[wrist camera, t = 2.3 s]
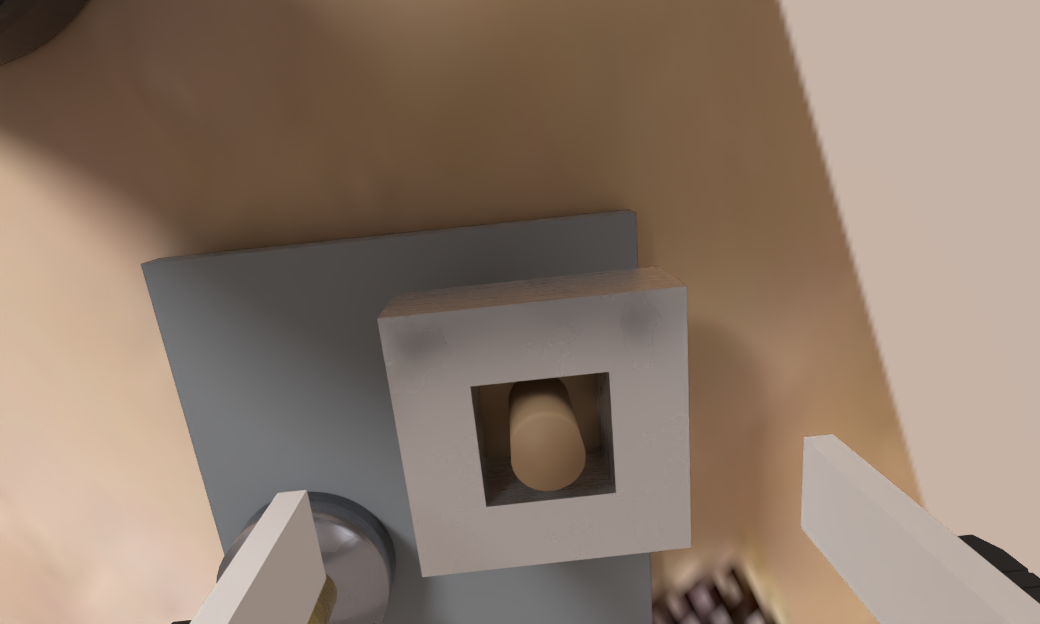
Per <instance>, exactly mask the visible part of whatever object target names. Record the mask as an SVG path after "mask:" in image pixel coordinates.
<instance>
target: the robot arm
mask: <svg viewBox="0 0 1040 624" xmlns="http://www.w3.org/2000/svg"><path fill="white" fill-rule="evenodd" d="M86 1H87V0H0V64H2V63H5V62H9V61H11V60H14V59H16V58H18V57H21V56H23V55H25V54H27V53H29V52H31V51H32V50H34V49H36V48H38V47H39V46H41V45H42V44H44V43H45V42H47V41H48V40H50V39H51V38H52V37H53V36H54V35H56V34H57V33H58V32H59V31H61V30H62V29H63V28H64V27H65V26H66V25H67V24H68V23H69V22H70V21H71V20H72V19H73V17H74V16H75V15H76V14H77V13H78V11H79V10H80V9H81V8H82V6H83V5H84V4H85V2H86ZM801 528H802V530H803V531H804V532H805V533H806V535H807V536H808V537H809V538H810V539H811V541H812V542H813V543H814V544H815V546H816V547H817V548H818V549H819V550H820V552H821V553H822V554H823V555H824V556H825V558H826V559H827V560H828V561H829V563H830V564H831V565H832V566H833V567H834V569H835V570H836V571H837V572H838V574H839V575H840V576H841V577H842V578H843V580H844V581H845V582H846V583H847V585H848V586H849V587H850V588H851V589H852V591H853V592H854V593H855V594H856V595H857V597H858V598H859V599H860V600H861V602H862V603H863V604H864V605H865V606H866V608H867V609H868V610H869V611H870V613H871V614H872V615H873V616H874V617H875V619H876V620H877V621H878V622H879V624H1040V578H1039V577H1038V576H1036V575H1035V574H1034V573H1029V572H1028V569H1027V568H1026V567H1025V566H1023V565H1022V564H1021V563H1019V562H1018V561H1017V560H1016V559H1014V558H1013V557H1011V556H1010V555H1009V554H1008V553H1006V552H1005V551H1004V550H1002V549H1000V548H998V547H996V546H994V545H992V544H990V543H988V542H986V541H984V540H982V539H980V538H978V537H976V536H974V535H964V536H956V535H955V534H954V533H953V532H951V531H950V530H949V529H948V528H946V527H945V526H944V525H943V524H941V523H940V522H939V521H938V520H937V519H936V518H934V517H933V516H932V515H931V514H929V513H928V512H927V511H926V510H925V509H923V508H922V507H921V506H920V505H918V504H917V503H916V502H915V501H914V500H912V499H911V498H910V497H909V496H908V495H906V494H905V493H904V492H903V491H901V490H900V489H899V488H898V487H897V486H895V485H894V484H893V483H892V482H890V481H889V480H888V479H887V478H886V477H884V476H883V475H882V474H881V473H879V472H878V471H877V470H876V469H875V468H873V467H872V466H871V465H870V464H869V463H867V462H866V461H865V460H864V459H862V458H861V457H860V456H859V455H858V454H856V453H855V452H854V451H853V450H851V449H850V448H849V447H848V446H847V445H845V444H844V443H843V442H842V441H841V440H839V439H838V438H837V437H836V436H834V435H833V434H829V435H820V436H810V437H804V448H803V476H802V504H801ZM325 580H326V574H325V570H324V565H323V561H322V556H321V552H320V547H319V543H318V538H317V534H316V529H315V525H314V521H313V516H312V512H311V507H310V503H309V498H308V494H307V490H300V491H291V492H281V493H277V494H276V496H275V497H274V499H273V500H272V502H271V503H270V505H269V506H268V508H267V509H266V511H265V512H264V514H263V515H262V517H261V518H260V520H259V521H258V523H257V524H256V526H255V527H254V529H253V530H252V532H251V533H250V535H249V536H248V537H247V539H246V540H245V542H244V543H243V545H242V546H241V548H240V549H239V551H238V552H237V554H236V555H235V557H234V558H233V560H232V561H231V563H230V564H229V566H228V567H227V569H226V570H225V572H224V573H223V575H222V576H221V578H220V579H219V581H218V582H217V584H216V585H215V587H214V588H213V590H212V591H211V593H210V594H209V596H208V597H207V598H206V600H205V601H204V603H203V604H202V606H201V607H200V609H199V610H198V612H197V613H196V615H195V616H194V618H193V619H192V620H188V621H178V622H173V623H172V624H307V623H308V621H309V619H310V616H311V614H312V611H313V609H314V607H315V604H316V602H317V599H318V597H319V595H320V592H321V590H322V587H323V585H324V583H325Z"/></svg>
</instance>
